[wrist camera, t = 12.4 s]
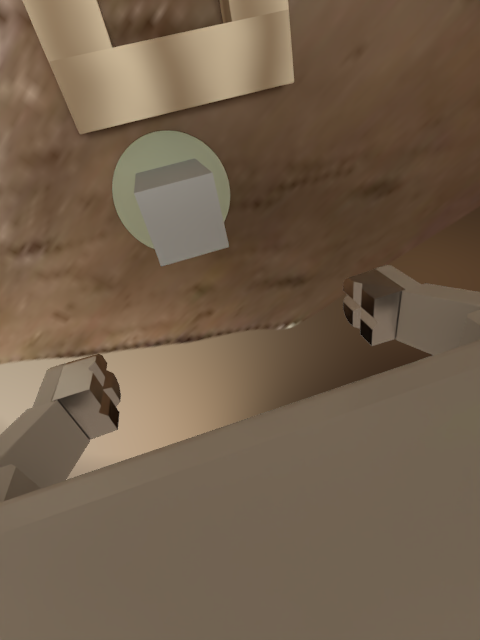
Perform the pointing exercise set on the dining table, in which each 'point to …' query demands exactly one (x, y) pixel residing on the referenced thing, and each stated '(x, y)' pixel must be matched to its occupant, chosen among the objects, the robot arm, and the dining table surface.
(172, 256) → the block
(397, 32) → the dining table surface
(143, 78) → the pocket board
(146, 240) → the pad
